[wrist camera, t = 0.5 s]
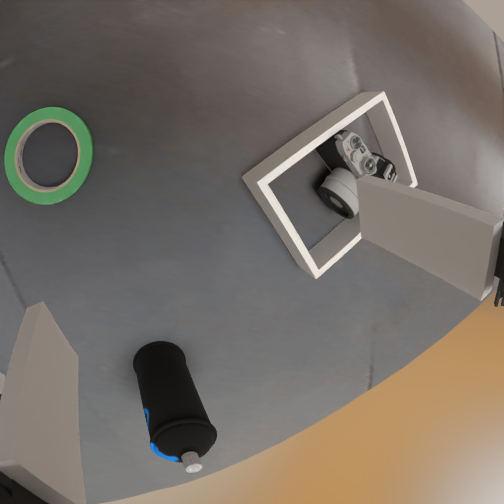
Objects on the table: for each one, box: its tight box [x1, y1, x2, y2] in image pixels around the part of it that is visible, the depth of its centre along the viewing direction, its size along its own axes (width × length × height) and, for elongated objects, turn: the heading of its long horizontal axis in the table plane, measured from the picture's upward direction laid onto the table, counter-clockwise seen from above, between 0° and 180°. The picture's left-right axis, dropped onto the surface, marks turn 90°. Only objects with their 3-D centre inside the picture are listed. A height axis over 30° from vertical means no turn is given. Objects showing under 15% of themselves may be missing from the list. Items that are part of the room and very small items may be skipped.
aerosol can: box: [133, 342, 217, 473], centre depth 38 cm, size 8×8×20 cm
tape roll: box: [4, 107, 94, 205], centre depth 30 cm, size 11×11×3 cm
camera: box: [313, 130, 398, 219], centre depth 43 cm, size 16×9×10 cm, turn 45°
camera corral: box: [242, 91, 417, 279], centre depth 45 cm, size 17×24×5 cm
